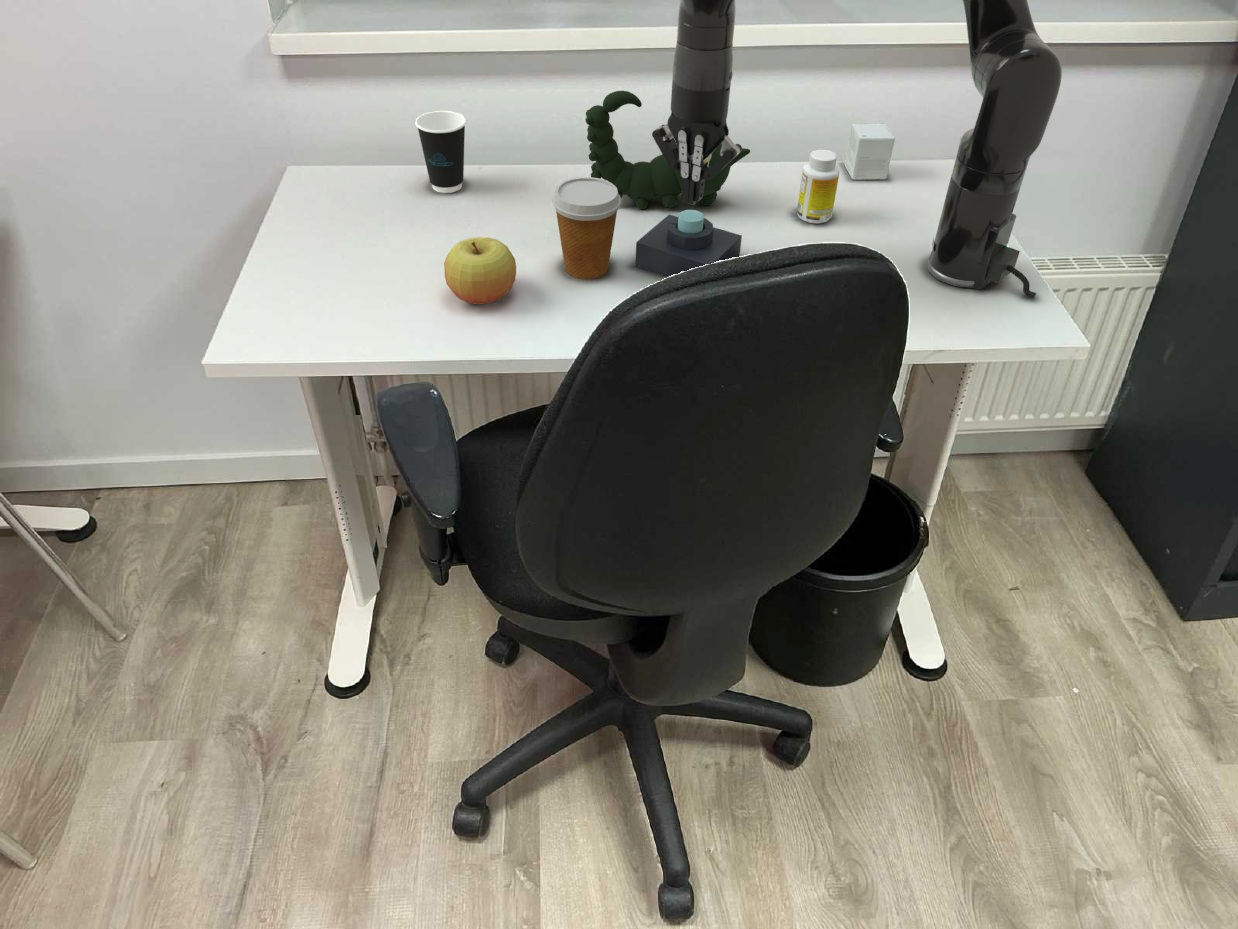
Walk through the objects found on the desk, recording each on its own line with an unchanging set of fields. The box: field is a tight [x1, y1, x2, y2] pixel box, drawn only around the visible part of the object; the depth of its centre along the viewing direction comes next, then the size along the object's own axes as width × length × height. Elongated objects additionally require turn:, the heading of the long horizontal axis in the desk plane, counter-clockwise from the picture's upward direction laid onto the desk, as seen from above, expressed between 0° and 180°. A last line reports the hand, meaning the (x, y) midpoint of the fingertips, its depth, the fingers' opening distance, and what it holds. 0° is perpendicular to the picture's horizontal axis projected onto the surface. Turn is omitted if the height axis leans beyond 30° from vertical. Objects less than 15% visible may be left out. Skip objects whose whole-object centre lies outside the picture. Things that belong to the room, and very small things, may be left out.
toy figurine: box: [585, 90, 751, 210], centre depth 154 cm, size 9×19×25 cm
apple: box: [443, 236, 517, 305], centre depth 135 cm, size 10×10×8 cm
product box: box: [844, 123, 896, 181], centre depth 167 cm, size 6×6×7 cm
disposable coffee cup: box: [551, 176, 622, 280], centre depth 140 cm, size 10×10×12 cm
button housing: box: [634, 213, 743, 278], centre depth 143 cm, size 12×10×6 cm
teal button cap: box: [677, 209, 705, 233], centre depth 141 cm, size 4×4×2 cm
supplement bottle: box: [796, 149, 840, 224], centre depth 154 cm, size 6×6×10 cm
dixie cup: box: [414, 110, 467, 194], centre depth 158 cm, size 8×8×11 cm
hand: (691, 201), depth 139 cm, fingers closed
